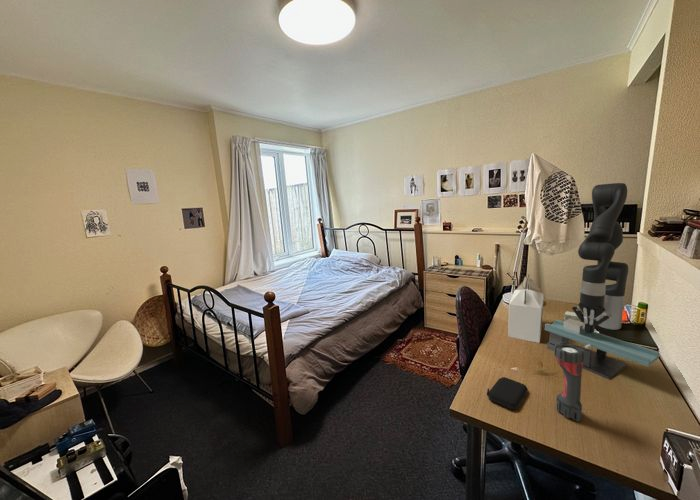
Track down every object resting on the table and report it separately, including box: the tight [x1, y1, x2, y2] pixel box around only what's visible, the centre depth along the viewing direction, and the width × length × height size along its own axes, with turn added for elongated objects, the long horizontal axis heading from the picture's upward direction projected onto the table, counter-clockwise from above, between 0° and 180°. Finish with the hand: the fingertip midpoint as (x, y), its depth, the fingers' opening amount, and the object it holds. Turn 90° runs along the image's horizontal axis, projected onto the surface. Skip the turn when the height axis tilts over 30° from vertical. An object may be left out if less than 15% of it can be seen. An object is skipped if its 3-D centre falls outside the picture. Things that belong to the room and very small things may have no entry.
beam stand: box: [546, 341, 628, 380], centre depth 121 cm, size 15×24×8 cm, turn 27°
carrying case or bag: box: [486, 376, 529, 411], centre depth 104 cm, size 11×3×15 cm
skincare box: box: [563, 311, 582, 322], centre depth 136 cm, size 6×4×12 cm
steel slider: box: [563, 318, 585, 335], centre depth 122 cm, size 5×6×5 cm
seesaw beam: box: [544, 319, 660, 367], centre depth 116 cm, size 14×34×9 cm, turn 27°
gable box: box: [507, 274, 545, 344], centre depth 145 cm, size 22×13×28 cm, turn 144°
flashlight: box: [553, 342, 585, 423], centre depth 92 cm, size 8×8×23 cm
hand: (589, 332), depth 117 cm, fingers closed
